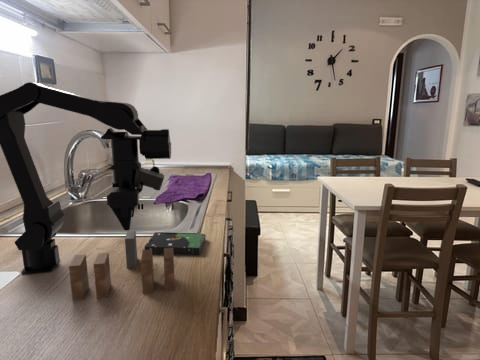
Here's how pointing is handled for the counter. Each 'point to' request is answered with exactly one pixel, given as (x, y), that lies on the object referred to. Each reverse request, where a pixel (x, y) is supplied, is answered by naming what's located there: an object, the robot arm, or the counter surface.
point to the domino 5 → (169, 269)
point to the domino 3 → (131, 249)
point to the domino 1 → (78, 277)
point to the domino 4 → (147, 271)
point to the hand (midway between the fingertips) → (129, 223)
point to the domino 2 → (102, 275)
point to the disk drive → (176, 243)
